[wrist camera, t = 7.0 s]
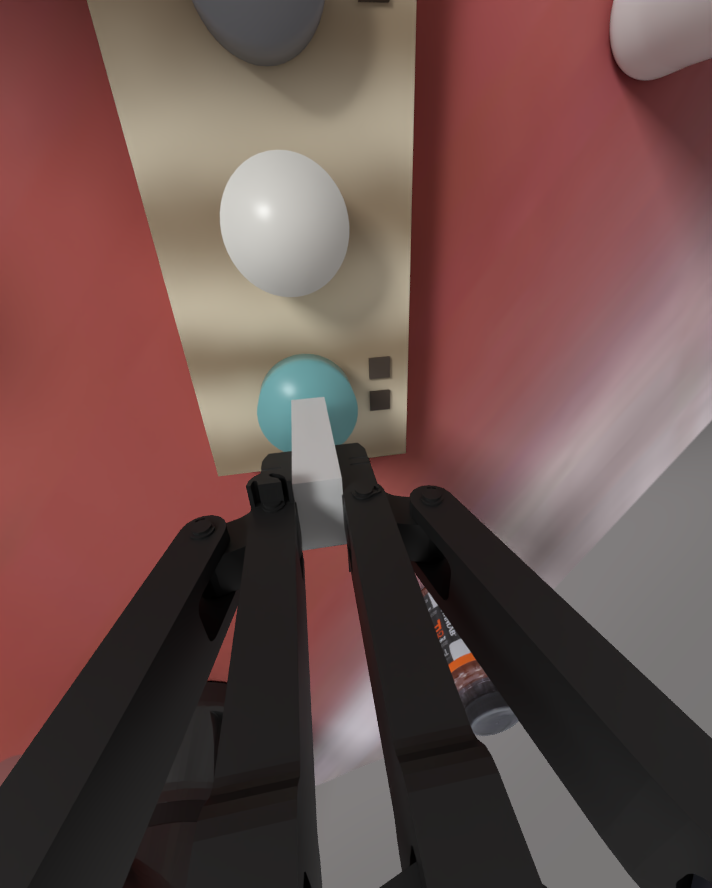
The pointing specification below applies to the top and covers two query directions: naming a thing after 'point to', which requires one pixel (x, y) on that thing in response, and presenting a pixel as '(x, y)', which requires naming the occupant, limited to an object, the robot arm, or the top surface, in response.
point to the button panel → (218, 156)
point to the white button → (284, 223)
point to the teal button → (305, 397)
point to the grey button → (262, 27)
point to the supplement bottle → (470, 679)
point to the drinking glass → (660, 36)
